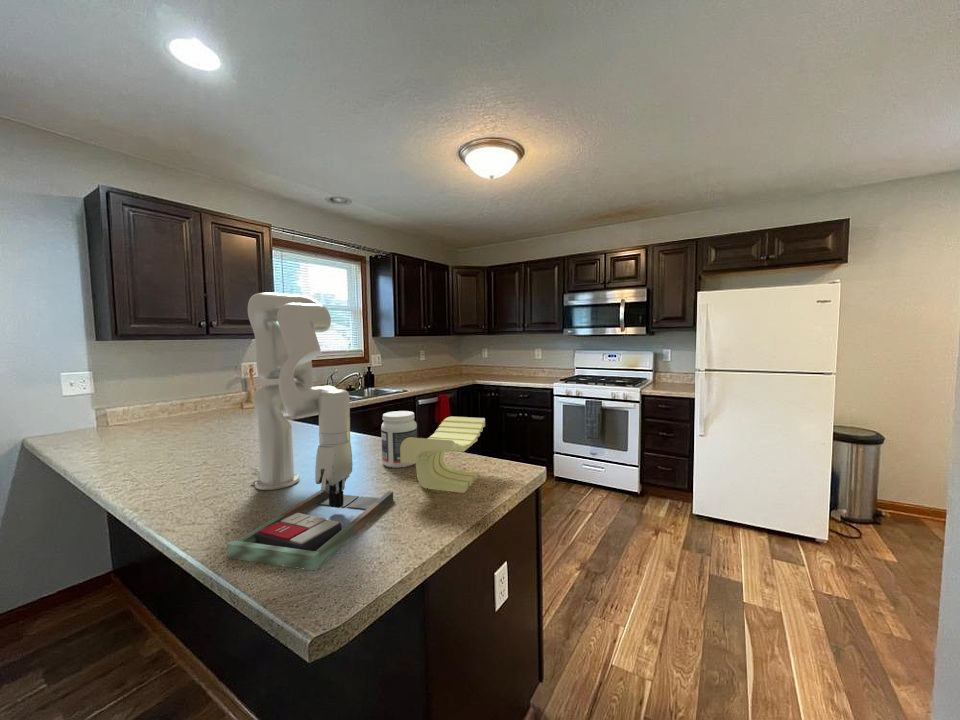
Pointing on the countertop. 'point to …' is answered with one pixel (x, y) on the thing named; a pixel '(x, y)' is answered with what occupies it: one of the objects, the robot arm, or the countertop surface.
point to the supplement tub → (396, 436)
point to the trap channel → (308, 559)
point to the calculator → (299, 532)
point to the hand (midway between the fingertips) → (336, 505)
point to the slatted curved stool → (430, 452)
